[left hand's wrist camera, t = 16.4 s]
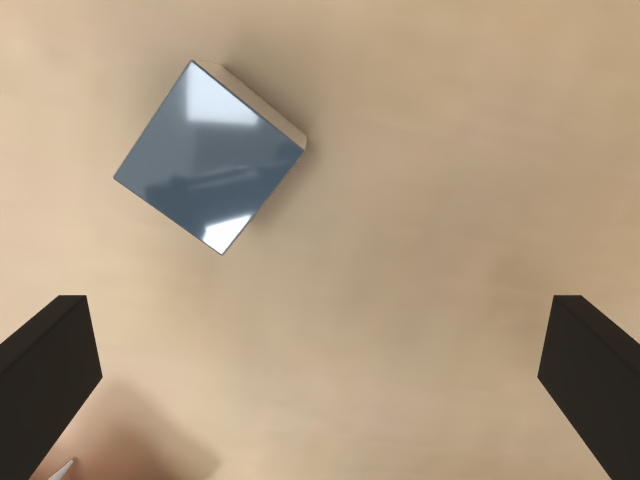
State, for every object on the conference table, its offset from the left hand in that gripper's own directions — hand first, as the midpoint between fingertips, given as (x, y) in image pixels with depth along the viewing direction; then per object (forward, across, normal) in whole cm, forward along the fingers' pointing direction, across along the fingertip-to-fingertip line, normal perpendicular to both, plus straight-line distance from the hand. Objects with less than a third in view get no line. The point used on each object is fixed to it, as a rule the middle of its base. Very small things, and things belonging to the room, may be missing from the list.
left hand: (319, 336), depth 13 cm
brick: (+8, +4, -4) cm, 9 cm away
